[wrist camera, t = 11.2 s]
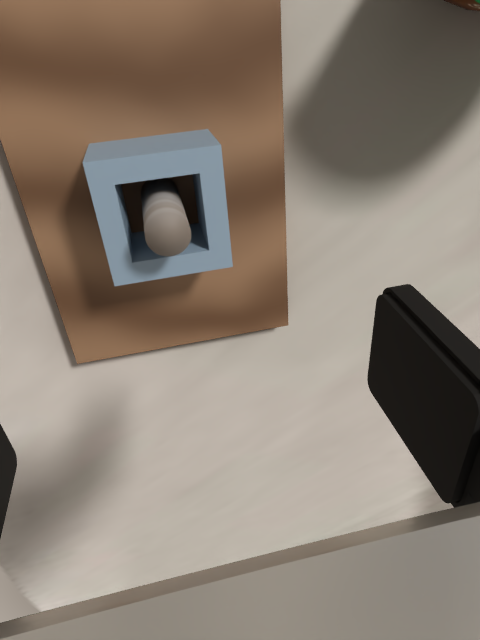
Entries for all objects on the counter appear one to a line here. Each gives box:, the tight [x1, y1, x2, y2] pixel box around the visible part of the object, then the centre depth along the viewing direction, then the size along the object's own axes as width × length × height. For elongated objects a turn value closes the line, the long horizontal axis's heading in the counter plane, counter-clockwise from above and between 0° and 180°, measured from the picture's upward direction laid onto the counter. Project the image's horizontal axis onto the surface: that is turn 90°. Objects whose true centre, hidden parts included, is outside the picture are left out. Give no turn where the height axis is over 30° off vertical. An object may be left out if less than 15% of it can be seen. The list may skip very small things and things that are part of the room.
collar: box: [83, 129, 233, 286], centre depth 23 cm, size 6×6×4 cm
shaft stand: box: [0, 0, 288, 364], centre depth 23 cm, size 20×14×7 cm
